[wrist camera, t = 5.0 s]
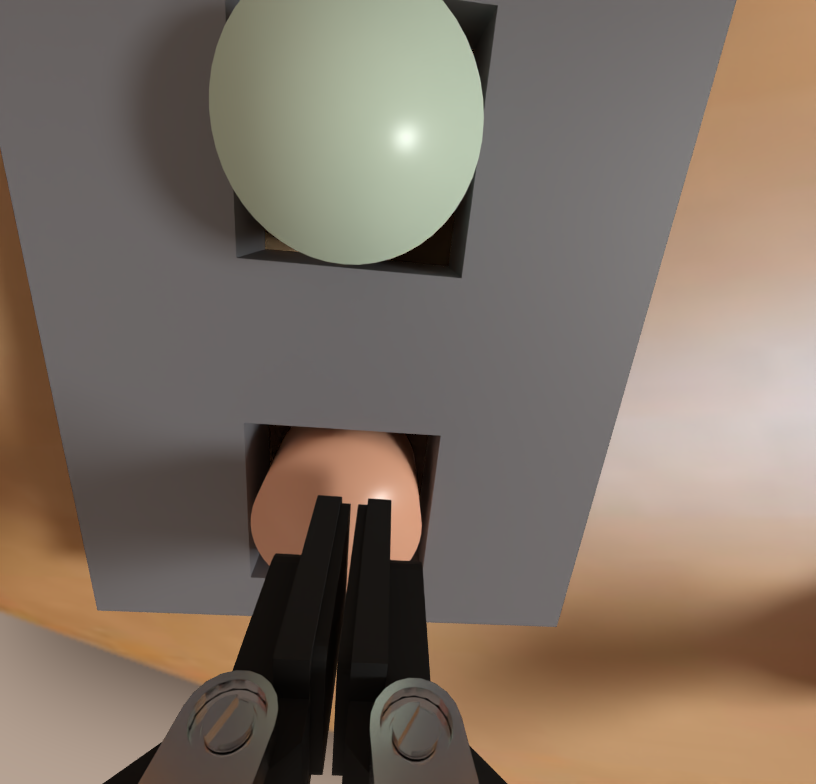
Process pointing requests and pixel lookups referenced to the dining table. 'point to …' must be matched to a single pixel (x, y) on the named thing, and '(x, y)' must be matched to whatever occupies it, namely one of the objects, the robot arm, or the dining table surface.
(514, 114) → the button panel
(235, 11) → the sage button
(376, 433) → the terracotta button
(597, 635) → the dining table surface
